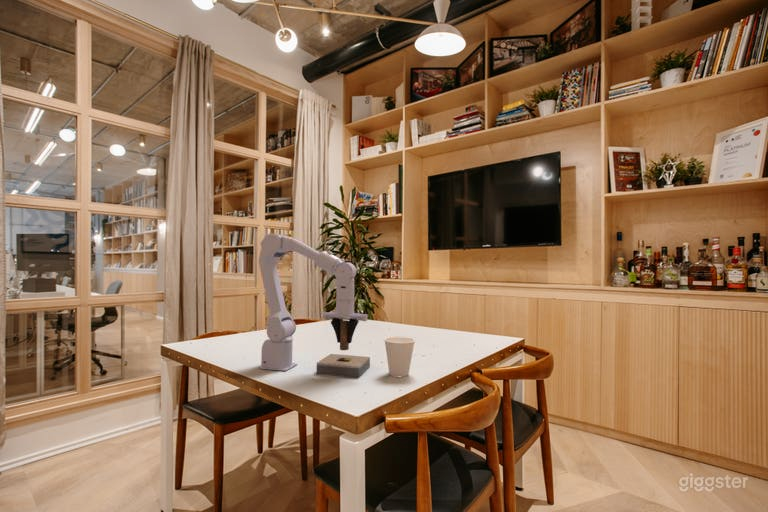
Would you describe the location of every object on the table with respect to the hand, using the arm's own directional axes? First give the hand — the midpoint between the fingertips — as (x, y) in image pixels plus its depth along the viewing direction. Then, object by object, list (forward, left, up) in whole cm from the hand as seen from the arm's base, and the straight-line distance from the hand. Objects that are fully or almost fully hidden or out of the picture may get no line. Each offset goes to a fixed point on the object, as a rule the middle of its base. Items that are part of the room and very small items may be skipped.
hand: (344, 342), depth 120 cm
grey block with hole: (-1, +2, -9) cm, 10 cm away
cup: (+17, +3, -10) cm, 20 cm away
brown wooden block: (0, 0, -2) cm, 2 cm away
